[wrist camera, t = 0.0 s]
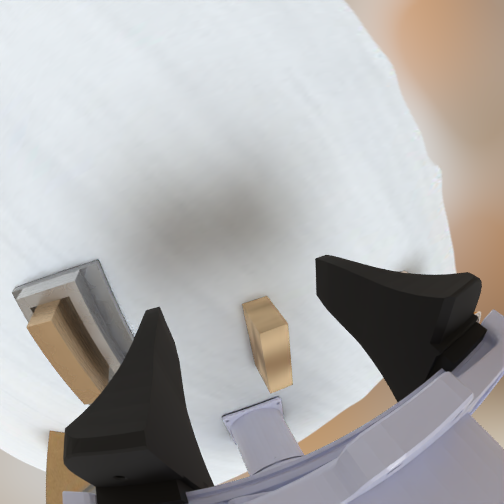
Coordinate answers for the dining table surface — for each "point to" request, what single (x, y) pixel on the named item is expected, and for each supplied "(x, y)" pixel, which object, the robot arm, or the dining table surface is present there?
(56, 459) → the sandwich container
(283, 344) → the tan rectangular block
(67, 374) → the track
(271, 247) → the dining table surface
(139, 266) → the dining table surface
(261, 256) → the dining table surface
